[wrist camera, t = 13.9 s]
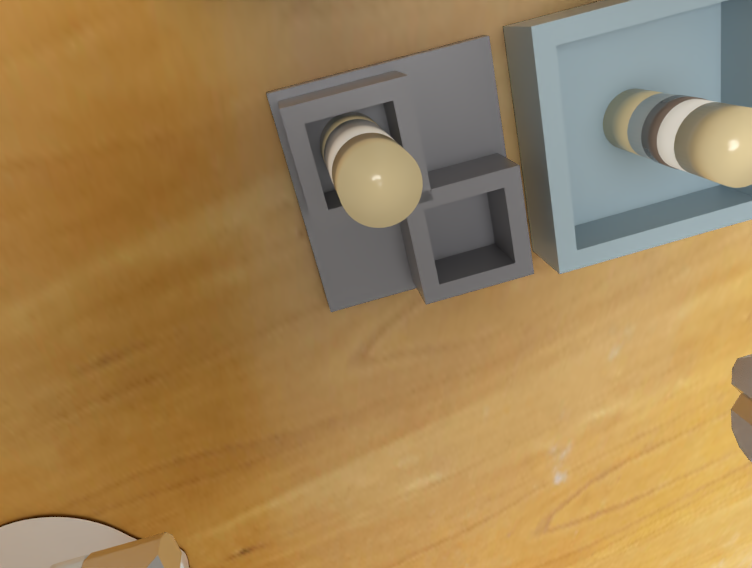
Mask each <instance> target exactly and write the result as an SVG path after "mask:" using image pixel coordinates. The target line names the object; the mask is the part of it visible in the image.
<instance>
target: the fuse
mask: <svg viewBox="0 0 752 568" xmlns="http://www.w3.org/2000/svg"><path fill="white" fill-rule="evenodd" d="M320 151H321V155H322V158H323V160H324V162H325V165H326V167H327V170H328V172H329V175H330V177H331V180H332V182H333V184H334V187H335V189H336V192H337V194H338V197H339V199H340V201H341V204H342V206H343V208H344V209H345V211H346V212H347V213H348V215H349V216H350V217H351V218H353V219H354V220H355V221H357V222H358V223H360V224H362V225H365V226H368V227H373V228H385V227H390V226H393V225H395V224H398V223H400V222H401V221H403V220H404V219H406V218H407V217H408V216H409V215H410V214H411V213H412V212H413V211H414V209H415V208H416V206H417V204H418V203H419V200H420V198H421V194H422V188H423V180H422V174H421V171H420V168H419V166H418V164H417V162H416V161H415V159H414V158H413V157H412V156H411V155H410V154H409V153H408V152H407V151H406V150H405V149H404V148H402V147H401V146H400V145H399V144H398V143H397V142H396V141H395V140H394V139H393V138H392V137H390V136H389V135H388V134H387V133H386V132H385V131H384V130H383V129H382V128H381V127H380V126H378V125H377V124H376V123H375V122H374V121H373V120H372V119H371V118H369V117H368V116H366V115H364V114H361V113H358V112H348V113H344V114H340V115H337V116H335V117H334V118H332V119H331V120H330V121H329V122H328V123H327V124H326V126H325V127H324V129H323V131H322V134H321V137H320Z"/></svg>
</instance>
